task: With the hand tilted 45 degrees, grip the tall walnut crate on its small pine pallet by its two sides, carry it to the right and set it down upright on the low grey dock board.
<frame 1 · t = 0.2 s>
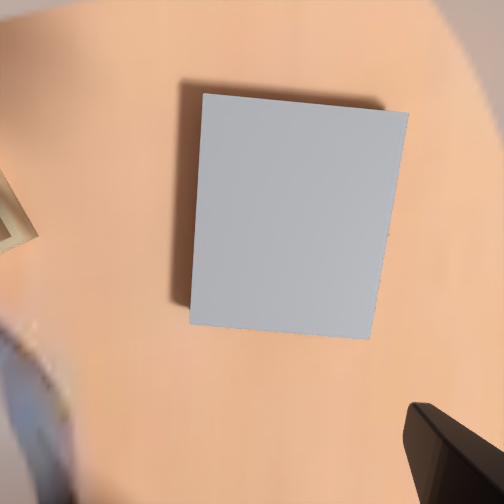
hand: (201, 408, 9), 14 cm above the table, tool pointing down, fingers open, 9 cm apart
dock: (289, 220, 22), on the table
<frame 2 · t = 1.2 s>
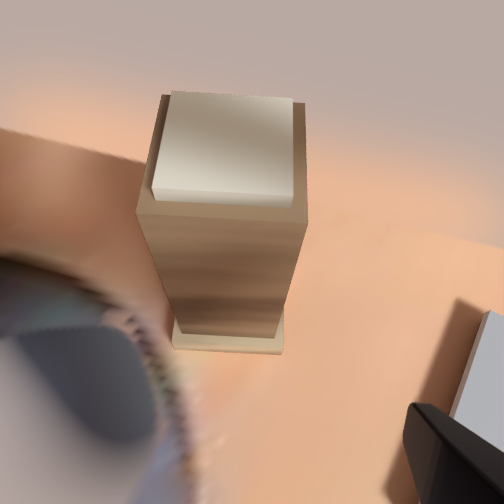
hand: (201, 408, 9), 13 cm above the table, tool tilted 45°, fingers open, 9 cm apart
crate: (231, 302, 24), on the table
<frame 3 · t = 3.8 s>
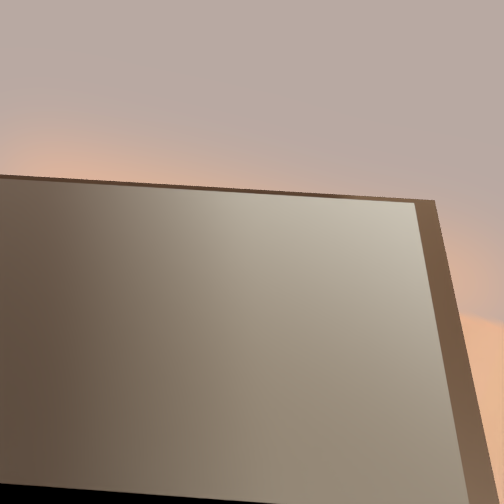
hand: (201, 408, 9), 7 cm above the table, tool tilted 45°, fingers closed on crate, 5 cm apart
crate: (211, 478, 14), on the table, touching gripper
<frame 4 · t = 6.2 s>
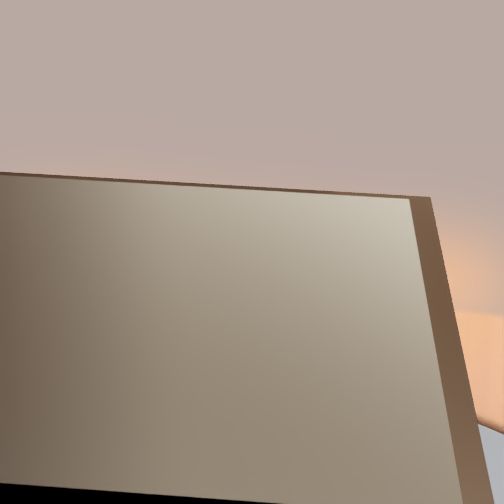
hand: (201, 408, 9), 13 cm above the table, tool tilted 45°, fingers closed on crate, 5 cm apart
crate: (210, 477, 14), point 7 cm above the table, touching gripper
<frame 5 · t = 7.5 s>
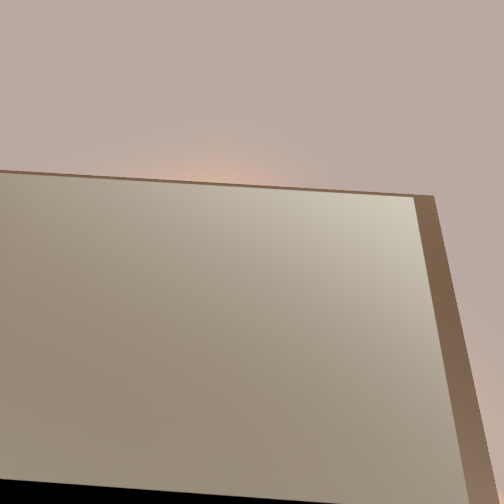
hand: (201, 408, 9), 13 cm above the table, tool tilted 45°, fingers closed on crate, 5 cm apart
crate: (211, 476, 14), point 6 cm above the table, touching gripper
when the fingers open (9 cm above the table, at t = 8.5 s): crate drops 1 cm, resting on dock.
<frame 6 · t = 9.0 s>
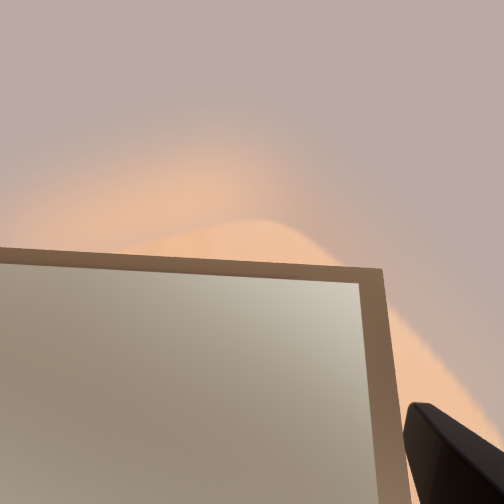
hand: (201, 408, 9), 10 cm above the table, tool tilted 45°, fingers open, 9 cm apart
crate: (213, 476, 15), point 1 cm above the table, touching dock
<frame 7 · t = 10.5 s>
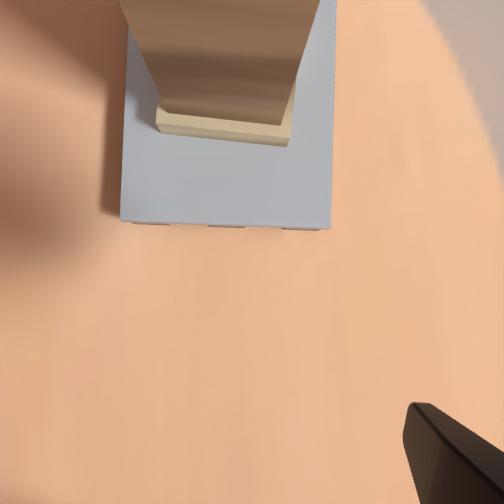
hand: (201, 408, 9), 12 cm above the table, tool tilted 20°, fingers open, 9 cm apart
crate: (230, 78, 19), point 1 cm above the table, touching dock
dock: (231, 111, 21), on the table
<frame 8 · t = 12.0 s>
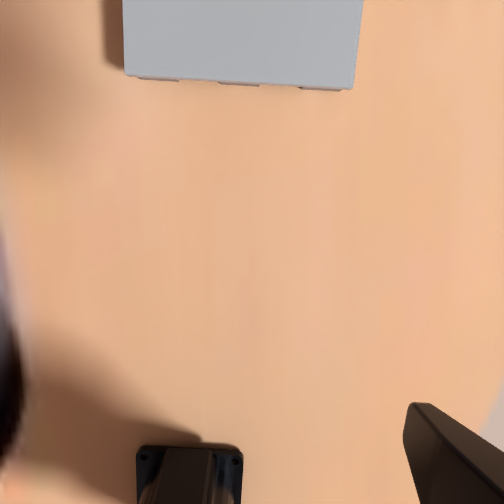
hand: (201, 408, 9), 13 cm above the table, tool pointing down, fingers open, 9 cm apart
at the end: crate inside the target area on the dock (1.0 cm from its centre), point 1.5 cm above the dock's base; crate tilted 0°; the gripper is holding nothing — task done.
